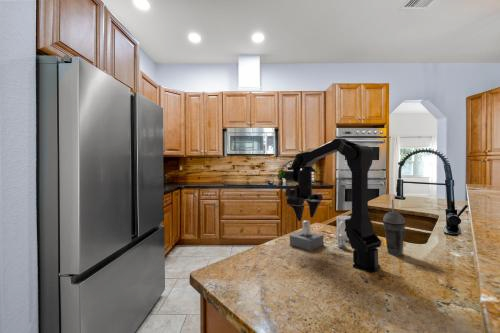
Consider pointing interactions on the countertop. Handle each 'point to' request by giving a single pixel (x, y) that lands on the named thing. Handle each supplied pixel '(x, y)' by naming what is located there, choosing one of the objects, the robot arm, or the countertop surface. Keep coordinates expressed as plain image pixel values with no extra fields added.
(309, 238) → the hole block
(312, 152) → the robot arm
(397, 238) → the beverage cup
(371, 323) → the countertop surface
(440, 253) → the countertop surface
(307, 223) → the long pin
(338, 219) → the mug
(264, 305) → the countertop surface
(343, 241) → the short pin
